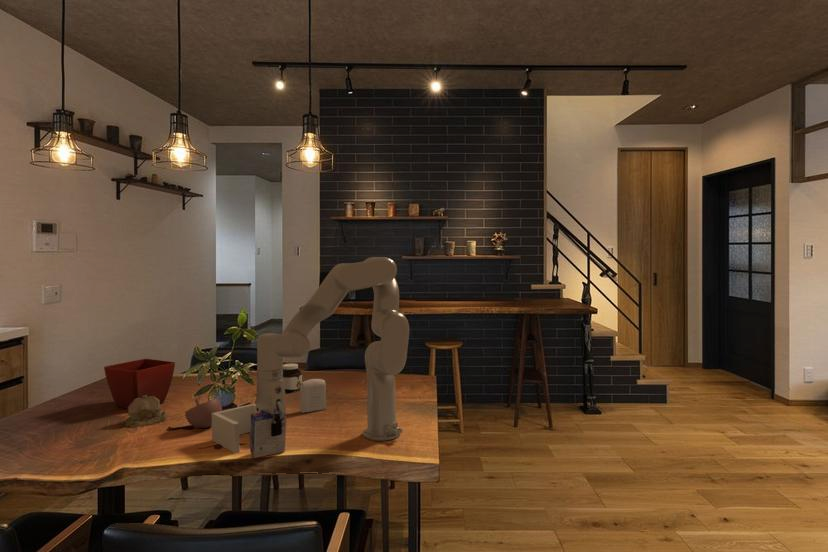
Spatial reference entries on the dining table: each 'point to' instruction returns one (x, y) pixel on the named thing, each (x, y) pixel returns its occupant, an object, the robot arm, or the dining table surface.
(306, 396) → the photo printer
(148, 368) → the plant pot
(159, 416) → the ceramic model
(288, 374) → the spread jar
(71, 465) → the dining table surface
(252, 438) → the ink cartridge box
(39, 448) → the dining table surface
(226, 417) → the cubby
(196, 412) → the mortar and pestle
